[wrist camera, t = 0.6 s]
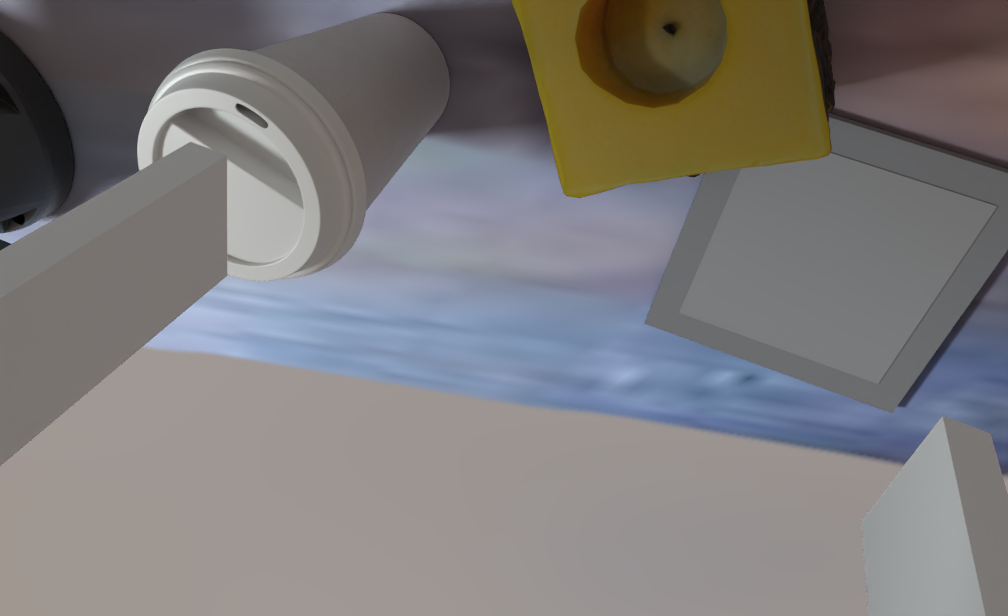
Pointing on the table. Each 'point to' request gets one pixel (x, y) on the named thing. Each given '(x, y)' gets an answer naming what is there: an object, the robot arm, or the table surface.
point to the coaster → (838, 260)
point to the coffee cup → (303, 134)
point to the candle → (678, 86)
